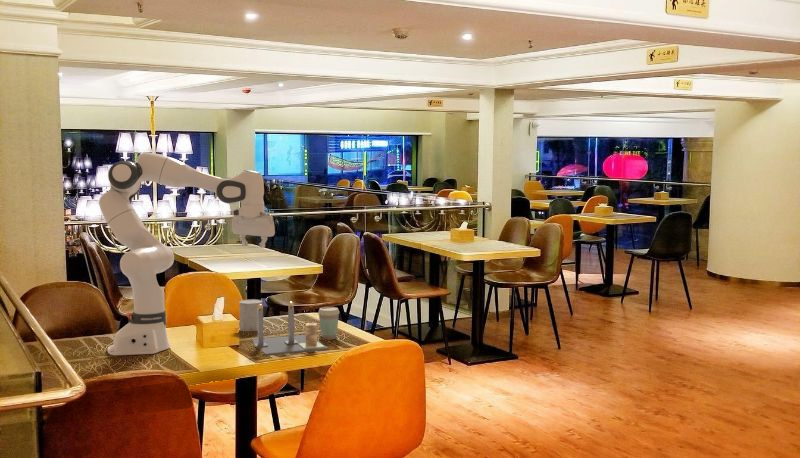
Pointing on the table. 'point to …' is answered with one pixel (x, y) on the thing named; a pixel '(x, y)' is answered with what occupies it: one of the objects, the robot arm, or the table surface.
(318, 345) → the pad
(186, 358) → the table surface
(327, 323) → the coffee cup
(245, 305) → the grey canister
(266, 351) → the mat
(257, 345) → the gate
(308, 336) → the block
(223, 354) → the table surface
